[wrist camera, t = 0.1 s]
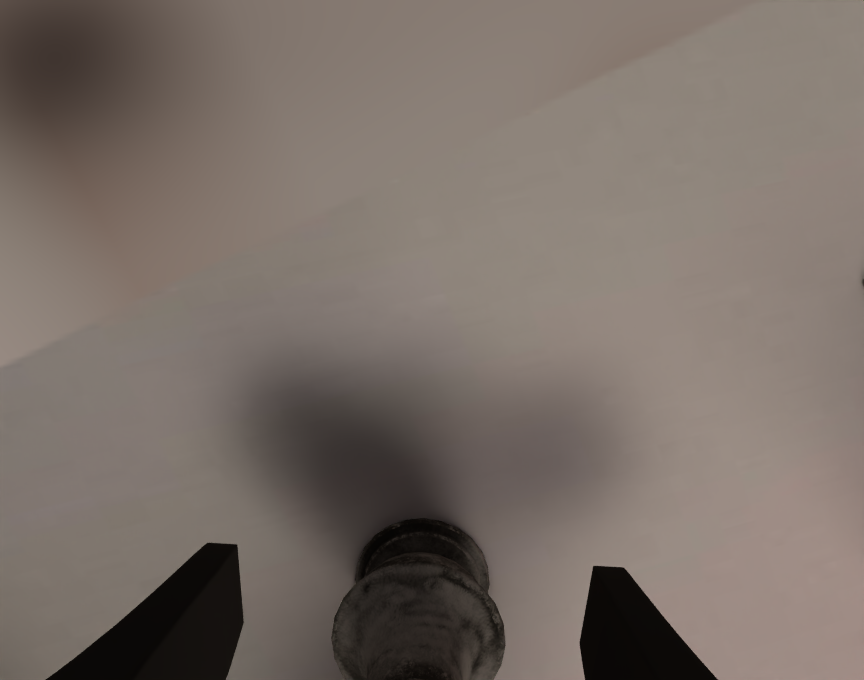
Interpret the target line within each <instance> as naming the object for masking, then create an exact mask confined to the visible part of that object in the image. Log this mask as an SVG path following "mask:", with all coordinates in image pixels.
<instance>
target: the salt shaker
mask: <svg viewBox="0 0 864 680" xmlns="http://www.w3.org/2000/svg"><path fill="white" fill-rule="evenodd" d="M355 581H356V584H355V585H354V587H353V588H352V589H351V590H350V591H349V592H348V593H347V595H346V596H345V597H344V598H343V600H342V602H341V604H340V607H339V609H338V611H337V613H336V615H335V618H334V624H333V631H332V645H333V651H334V658H335V660H336V662H337V664H338V666H339V669H340V671H341V673H342V675H343V677H344V678H345V679H346V680H493V679H494V677H495V676H496V674H497V672H498V670H499V668H500V666H501V664H502V659H503V654H504V650H505V635H504V625H503V621H502V619H501V616H500V614H499V611H498V609H497V606H496V604H495V602H494V601H493V600H492V599H491V597H490V596H489V595H488V589H489V574H488V566H487V564H486V561H485V559H484V556H483V554H482V552H481V550H480V549H479V548H478V546H477V545H476V544H475V542H474V541H473V540H472V539H471V538H470V537H469V536H467V535H466V534H465V533H463V532H462V531H461V530H460V529H458V528H456V527H454V526H452V525H449V524H447V523H444V522H442V521H437V520H430V519H412V520H405V521H402V522H399V523H396V524H393V525H390V526H389V527H387V528H386V529H384V530H383V531H381V532H380V533H378V534H377V535H375V536H374V538H373V539H372V540H371V541H370V542H369V543H368V544H367V546H366V547H365V548H364V550H363V553H362V555H361V557H360V559H359V561H358V565H357V571H356V578H355Z"/></svg>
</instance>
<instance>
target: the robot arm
mask: <svg viewBox="0 0 864 680" xmlns="http://www.w3.org/2000/svg"><path fill="white" fill-rule="evenodd" d="M243 623H244V621H243V609H242V597H241V584H240V572H239V560H238V547H237V545H236V544H220V543H207V544H205V545H204V546H203V547H202V548H201V549H200V550H199V551H197V552H196V553H195V554H194V555H193V556H192V557H191V558H190V559H189V560H188V561H187V562H185V563H184V564H183V565H182V566H181V567H180V568H179V569H178V570H177V571H176V572H175V573H174V574H172V575H171V576H170V577H169V578H168V579H167V580H166V581H165V582H164V583H163V584H162V585H160V586H159V587H158V588H157V589H156V590H155V591H154V592H153V593H152V594H150V595H149V596H148V597H147V598H146V599H145V600H144V601H143V602H141V603H140V604H139V605H138V606H137V607H136V608H135V609H133V610H132V611H131V612H130V613H129V614H128V615H127V616H125V617H124V618H123V619H122V620H121V621H120V622H119V623H117V624H116V625H115V626H114V627H113V628H111V629H110V630H109V631H108V632H106V633H105V634H104V635H103V636H101V637H100V638H99V639H98V640H97V641H95V642H94V643H93V644H92V645H90V646H89V647H88V648H87V649H85V650H84V651H83V652H82V653H81V654H79V655H78V656H77V657H75V658H74V659H73V660H72V661H70V662H69V663H68V664H66V665H65V666H64V667H62V668H61V669H60V670H58V671H57V672H56V673H54V674H53V675H52V676H50V677H49V678H47V679H46V680H226V677H227V675H228V672H229V669H230V666H231V663H232V659H233V656H234V653H235V650H236V647H237V643H238V640H239V636H240V633H241V630H242V626H243ZM580 649H581V656H582V662H583V669H584V675H585V680H718V679H717V678H716V677H715V676H714V675H713V674H712V673H711V672H710V671H709V669H708V668H707V667H706V666H705V665H704V664H703V663H702V662H701V660H700V659H699V658H698V657H697V656H696V655H695V654H694V652H693V651H692V650H691V649H690V648H689V647H688V645H687V644H686V643H685V642H684V641H683V640H682V638H681V637H680V636H679V635H678V634H677V633H676V631H675V630H674V629H673V628H672V627H671V625H670V624H669V623H668V622H667V621H666V619H665V618H664V617H663V616H662V614H661V613H660V612H659V611H658V609H657V608H656V607H655V606H654V604H653V603H652V602H651V601H650V599H649V598H648V597H647V596H646V594H645V593H644V592H643V591H642V589H641V588H640V587H639V586H638V584H637V583H636V582H635V581H634V579H633V578H632V577H631V576H630V574H629V573H628V572H627V571H626V570H625V568H622V567H605V566H593V571H592V577H591V582H590V588H589V593H588V599H587V605H586V610H585V616H584V621H583V627H582V633H581V638H580Z"/></svg>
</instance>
